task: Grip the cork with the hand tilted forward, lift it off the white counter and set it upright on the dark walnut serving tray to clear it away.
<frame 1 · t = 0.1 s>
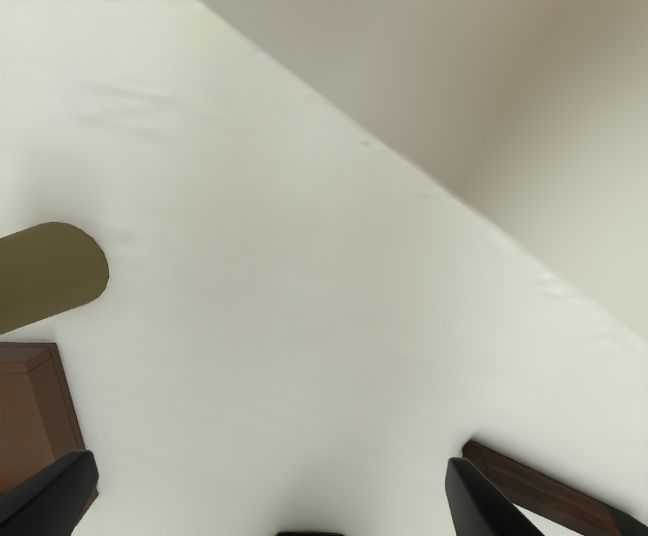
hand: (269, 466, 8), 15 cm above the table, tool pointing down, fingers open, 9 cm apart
cork: (67, 264, 22), on the table
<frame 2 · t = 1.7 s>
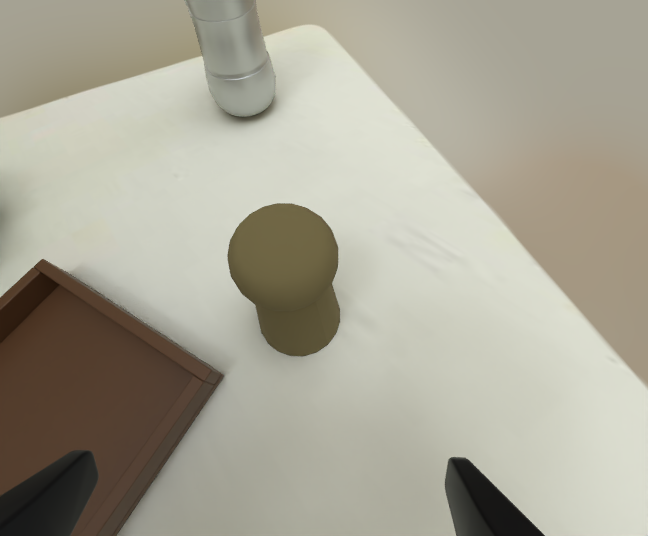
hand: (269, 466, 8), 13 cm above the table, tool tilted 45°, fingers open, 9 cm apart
cork: (299, 315, 24), on the table
plastic bottle: (248, 106, 34), on the table
tray: (55, 422, 20), on the table
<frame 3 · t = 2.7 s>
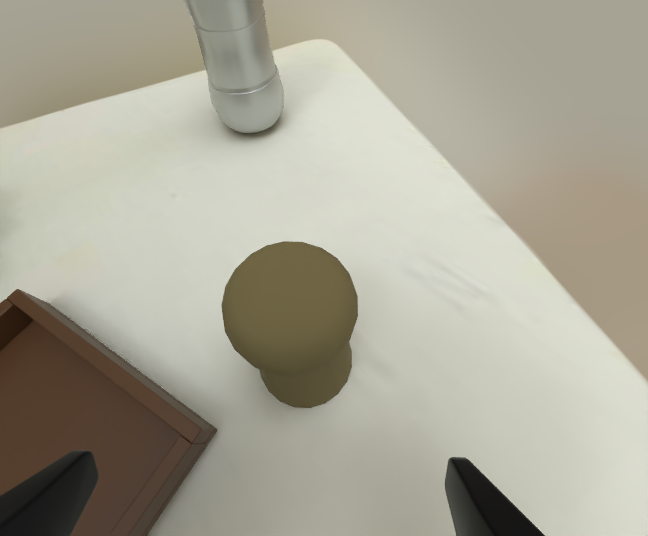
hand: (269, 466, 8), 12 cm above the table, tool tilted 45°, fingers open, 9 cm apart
cork: (305, 358, 21), on the table
plastic bottle: (254, 121, 32), on the table
tray: (17, 483, 17), on the table
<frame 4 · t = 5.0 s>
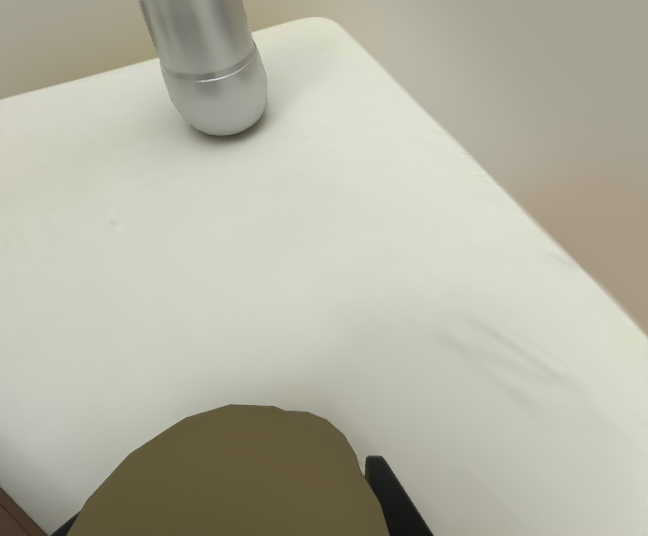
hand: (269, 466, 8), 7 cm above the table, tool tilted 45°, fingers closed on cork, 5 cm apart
cork: (291, 489, 13), on the table, touching gripper
plastic bottle: (229, 120, 24), on the table
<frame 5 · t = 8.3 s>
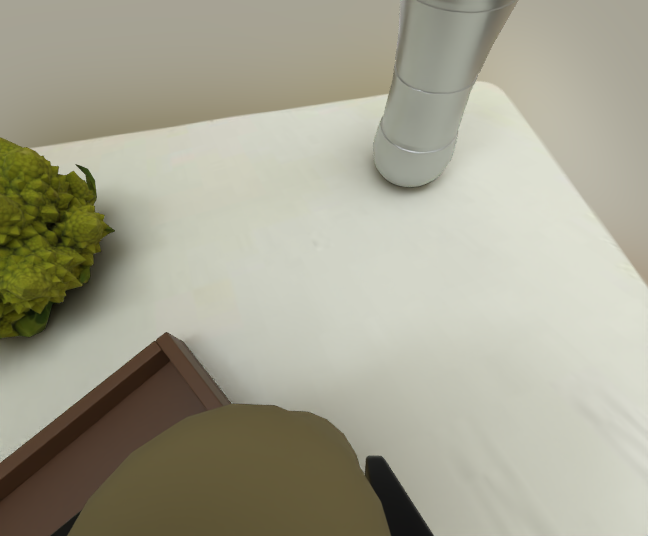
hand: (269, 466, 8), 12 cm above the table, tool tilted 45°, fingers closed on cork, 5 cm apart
cork: (292, 489, 13), point 5 cm above the table, touching gripper
vegetable: (31, 281, 24), on the table
plastic bottle: (405, 171, 29), on the table
when the fingers open (7 cm above the table, at t = 11.9 s): cork stays where it is, resting on tray.
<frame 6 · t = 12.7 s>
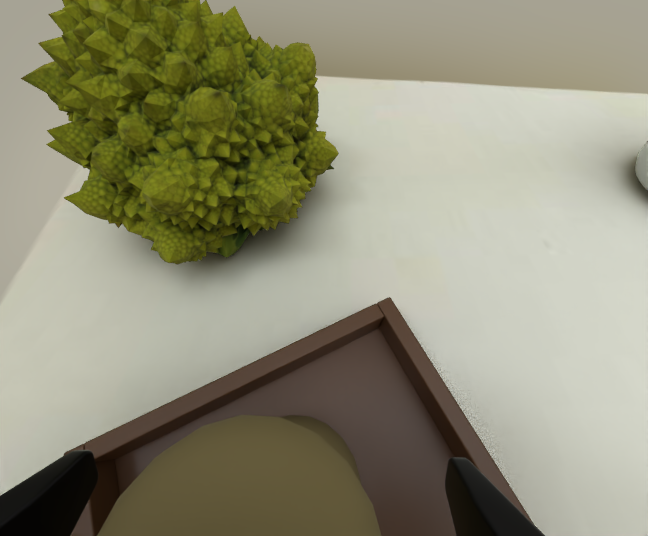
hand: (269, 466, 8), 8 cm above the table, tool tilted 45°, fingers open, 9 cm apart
cork: (293, 489, 14), resting on tray
vegetable: (222, 201, 22), on the table
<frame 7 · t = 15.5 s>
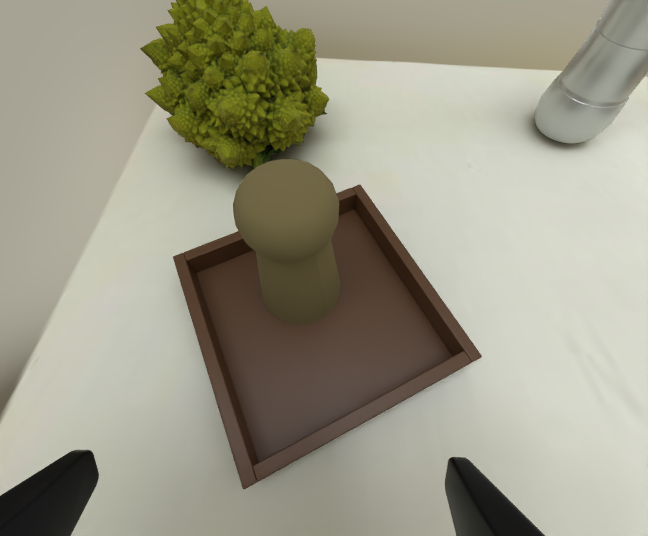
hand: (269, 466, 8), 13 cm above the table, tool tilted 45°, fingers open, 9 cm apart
cork: (301, 287, 24), resting on tray
vegetable: (250, 140, 32), on the table
plastic bottle: (557, 132, 33), on the table
tray: (316, 315, 24), on the table
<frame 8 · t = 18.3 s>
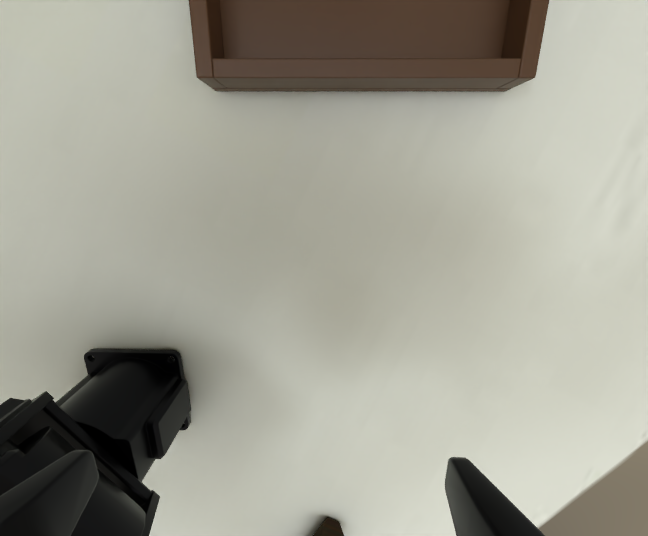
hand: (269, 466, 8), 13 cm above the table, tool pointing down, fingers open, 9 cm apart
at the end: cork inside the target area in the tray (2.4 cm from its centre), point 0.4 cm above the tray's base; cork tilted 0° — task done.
